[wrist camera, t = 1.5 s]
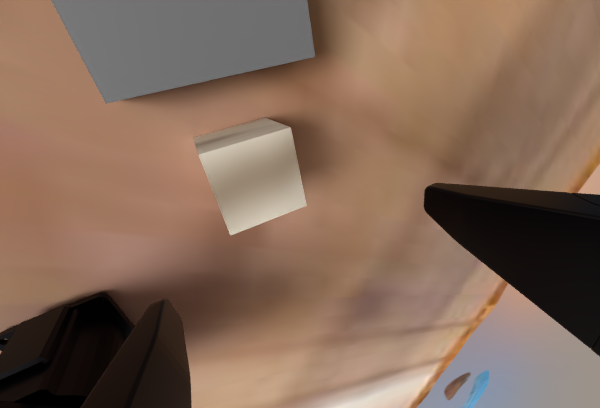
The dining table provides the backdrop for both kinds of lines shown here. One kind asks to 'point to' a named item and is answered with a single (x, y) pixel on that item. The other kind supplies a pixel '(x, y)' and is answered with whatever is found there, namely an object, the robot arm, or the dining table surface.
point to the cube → (252, 172)
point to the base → (182, 40)
